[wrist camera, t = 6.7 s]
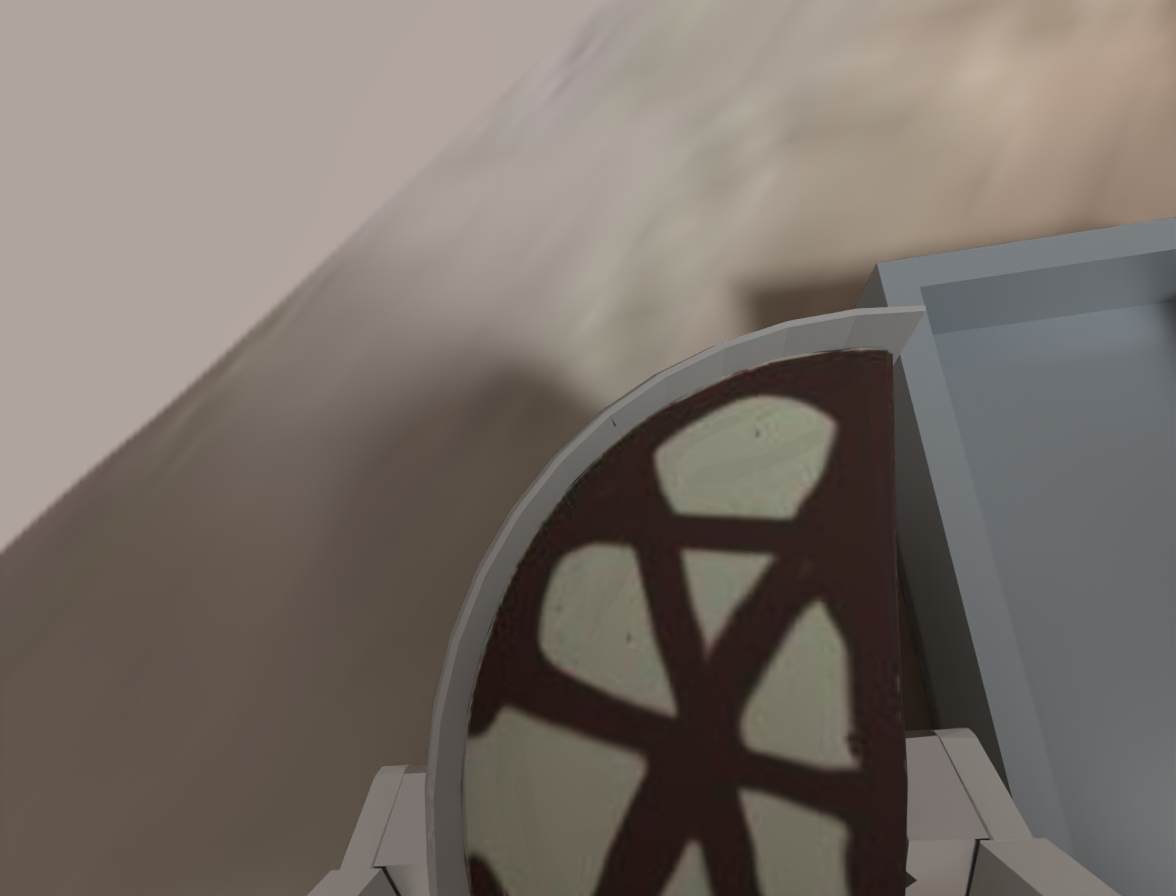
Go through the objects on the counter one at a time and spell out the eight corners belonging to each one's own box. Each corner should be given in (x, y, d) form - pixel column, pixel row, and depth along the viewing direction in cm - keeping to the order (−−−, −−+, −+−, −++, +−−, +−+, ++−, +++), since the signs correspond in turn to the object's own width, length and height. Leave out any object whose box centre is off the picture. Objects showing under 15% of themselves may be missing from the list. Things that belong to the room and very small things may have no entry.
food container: (582, 450, 19) (471, 260, 9) (798, 465, 18) (925, 267, 8) (523, 933, 15) (258, 1408, 6) (784, 989, 14) (968, 1683, 5)
